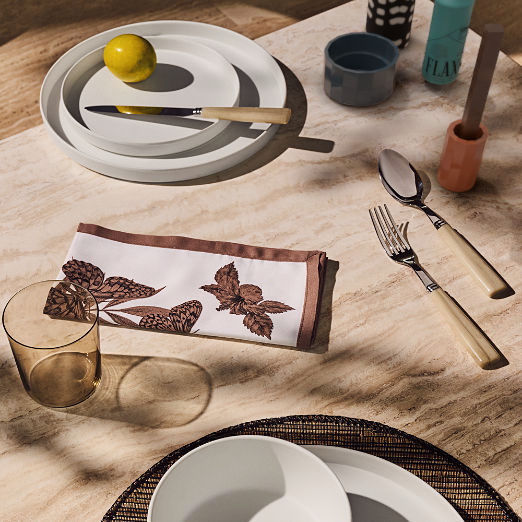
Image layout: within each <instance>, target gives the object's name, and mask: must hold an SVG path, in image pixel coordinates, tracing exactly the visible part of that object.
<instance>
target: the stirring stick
mask: <svg viewBox="0 0 522 522" xmlns="http://www.w3.org/2000/svg"><path fill="white" fill-rule="evenodd" d="M505 33H506V32H505V29H504V27H503V25H502V23H485V24H484V27H483V31H482V33H481V34H482V35H481V39H480V43H479V47H478V50H477V51H478V52H477V56H476V60H475V64H474V67H473V72H472V75H471V80H470V83H469V87H468V92H467V97H466V101H465V104H464V109H463V112H462V117H461V119H462V121H461V125H460V129H459V133H458V137H459V138H460V139H464V140H467V141H475V140H476V137H477V133H478V130H479V126H480V123H482V122H481V121H482V118H483V114H484V111H485V107H486V105H487V104H486V103H487V99H488V96H489V93H490V89H491V86H492V81H493V77H494V74H495V70H496V67H497V64H498V63H497V62H498V59H499V55H500V51H501V48H502V45H503V41H504V37H505Z"/></svg>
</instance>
